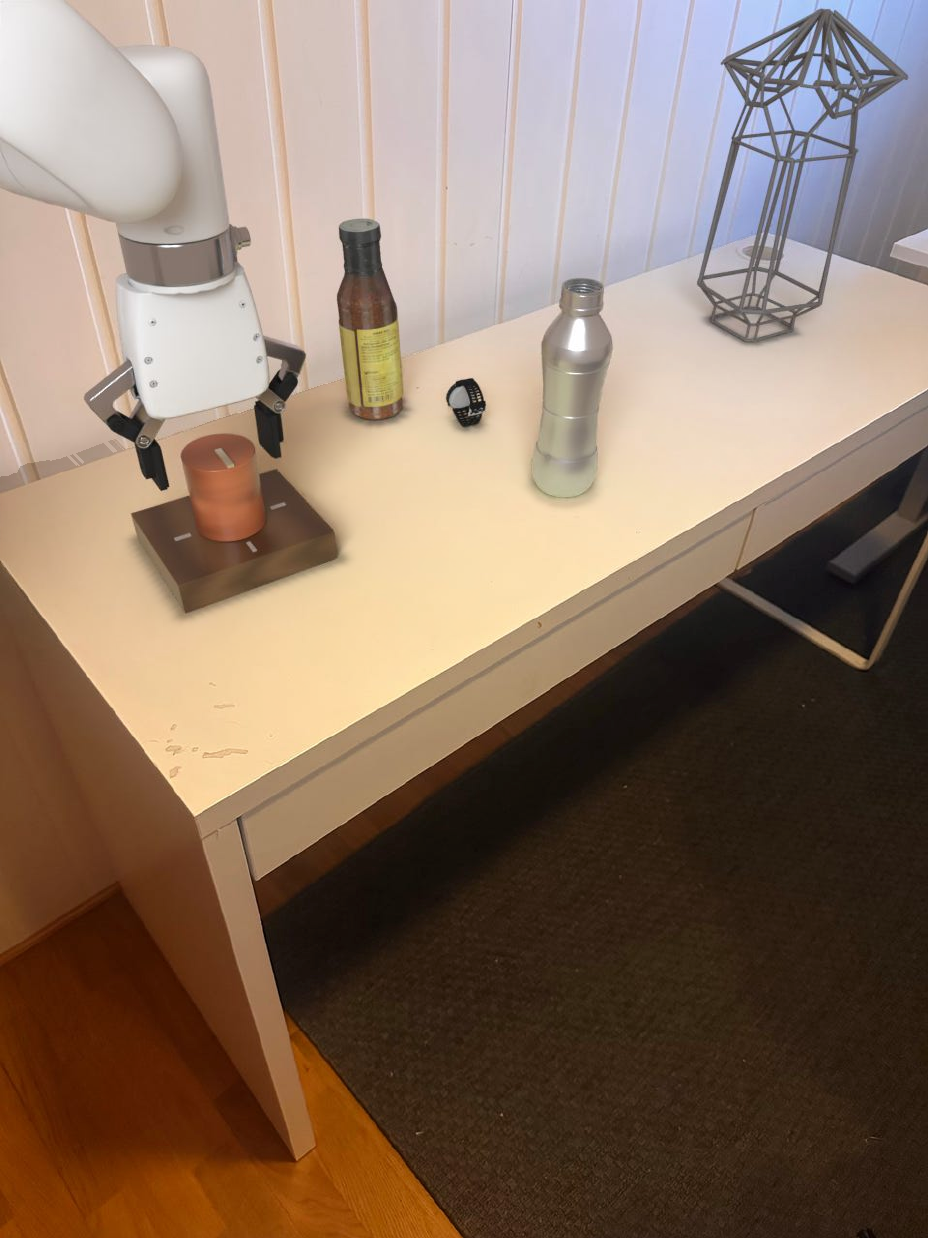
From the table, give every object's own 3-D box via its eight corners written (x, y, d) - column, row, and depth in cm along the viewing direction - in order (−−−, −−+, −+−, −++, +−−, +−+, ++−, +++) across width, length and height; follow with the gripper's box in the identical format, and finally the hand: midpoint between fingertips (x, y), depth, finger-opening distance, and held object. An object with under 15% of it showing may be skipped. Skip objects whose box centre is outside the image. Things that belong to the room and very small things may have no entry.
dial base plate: (185, 613, 74) (177, 584, 71) (138, 540, 81) (130, 511, 79) (337, 558, 79) (334, 529, 77) (280, 494, 87) (276, 466, 85)
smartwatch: (482, 412, 100) (483, 371, 96) (485, 436, 96) (487, 393, 93) (445, 413, 100) (445, 371, 96) (447, 436, 96) (447, 393, 92)
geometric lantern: (669, 313, 121) (721, 2, 98) (761, 295, 127) (832, -4, 103) (742, 360, 111) (820, 23, 88) (840, 338, 116) (938, 16, 93)
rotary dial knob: (186, 514, 79) (169, 441, 74) (250, 495, 81) (238, 423, 76) (210, 549, 75) (194, 475, 70) (277, 528, 78) (266, 454, 73)
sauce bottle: (413, 403, 101) (408, 219, 88) (387, 427, 97) (378, 238, 84) (362, 391, 103) (350, 210, 90) (335, 415, 99) (318, 228, 86)
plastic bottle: (520, 497, 87) (533, 293, 74) (542, 463, 92) (558, 266, 79) (583, 512, 85) (609, 306, 72) (602, 476, 90) (630, 278, 77)
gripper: (270, 222, 69) (292, 422, 80) (38, 259, 62) (97, 474, 73) (314, 250, 64) (330, 459, 75) (67, 294, 57) (126, 518, 68)
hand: (216, 466), depth 74 cm, fingers open, 9 cm apart
